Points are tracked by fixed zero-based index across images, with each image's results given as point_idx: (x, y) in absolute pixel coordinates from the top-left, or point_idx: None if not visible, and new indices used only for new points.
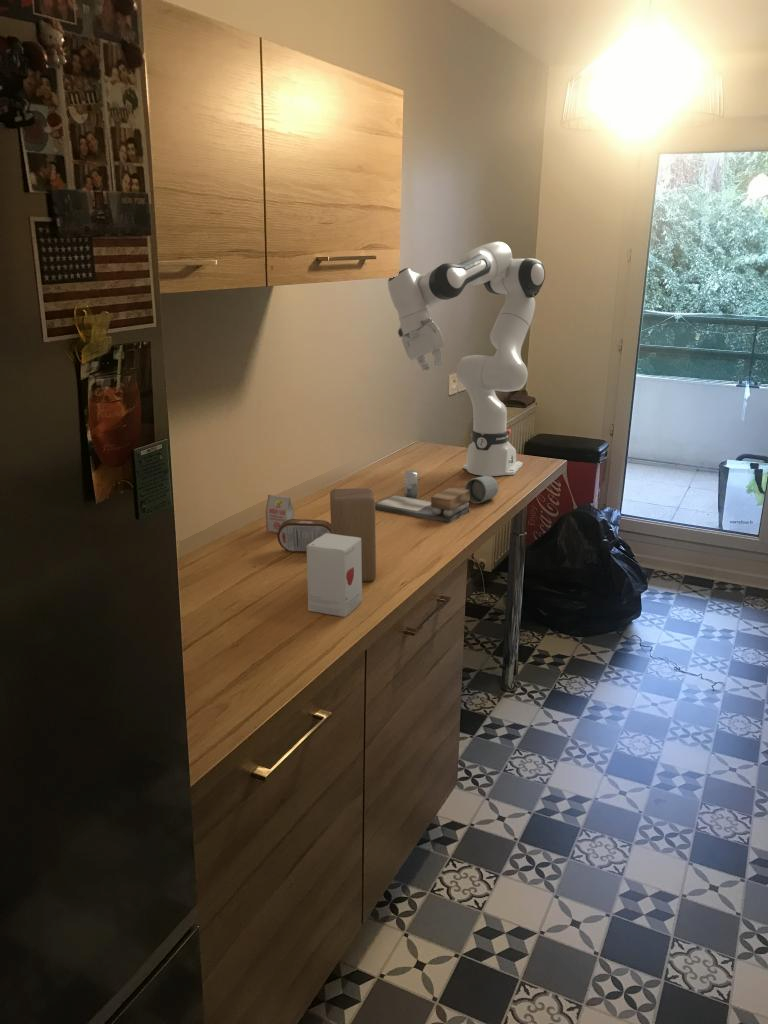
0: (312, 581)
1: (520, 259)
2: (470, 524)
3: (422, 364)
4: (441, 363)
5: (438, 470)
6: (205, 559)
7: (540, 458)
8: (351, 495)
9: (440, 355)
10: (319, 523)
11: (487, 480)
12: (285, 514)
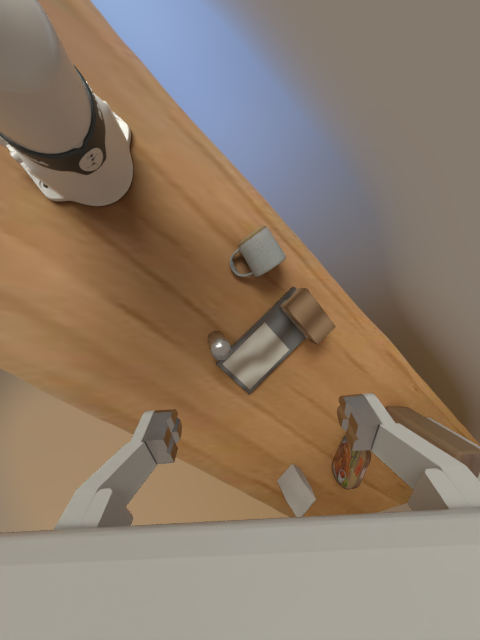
0: None
1: None
2: (329, 301)
3: (147, 468)
4: (374, 400)
5: (61, 254)
6: None
7: None
8: (473, 472)
9: (428, 444)
10: (369, 462)
11: (276, 246)
12: (310, 487)
